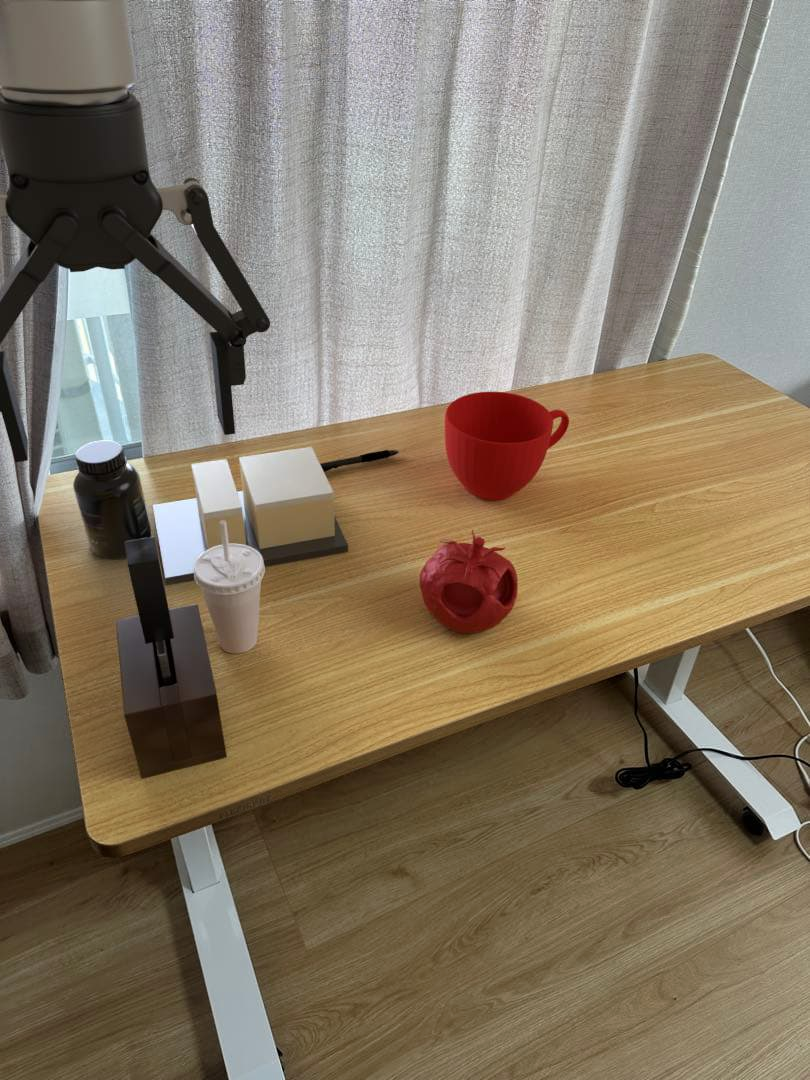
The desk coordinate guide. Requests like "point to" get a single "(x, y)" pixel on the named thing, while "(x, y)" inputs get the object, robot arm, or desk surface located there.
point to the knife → (151, 598)
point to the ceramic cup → (498, 441)
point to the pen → (359, 459)
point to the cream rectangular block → (218, 502)
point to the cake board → (188, 542)
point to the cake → (287, 497)
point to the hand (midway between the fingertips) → (128, 438)
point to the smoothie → (231, 591)
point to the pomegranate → (468, 586)
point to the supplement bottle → (109, 498)
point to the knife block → (170, 696)
